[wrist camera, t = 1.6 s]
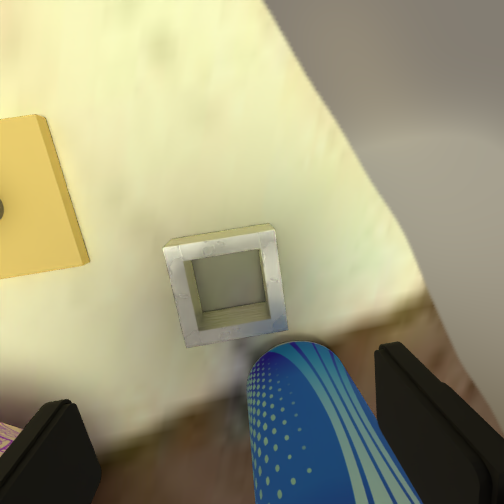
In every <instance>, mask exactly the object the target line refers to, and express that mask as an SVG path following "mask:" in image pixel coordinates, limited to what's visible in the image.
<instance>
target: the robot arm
mask: <svg viewBox="0 0 504 504" xmlns="http://www.w3.org/2000/svg"><path fill="white" fill-rule="evenodd" d="M374 358H375V383H376V408H377V421H378V425H379V428H380V430H381V432H382V434H383V436H384V437H385V439H386V441H387V442H388V444H389V446H390V448H391V449H392V451H393V453H394V454H395V456H396V458H397V460H398V461H399V463H400V465H401V466H402V468H403V470H404V472H405V473H406V475H407V477H408V478H409V480H410V482H411V484H412V485H413V487H414V489H415V490H416V492H417V494H418V496H419V497H420V499H421V501H422V502H423V504H504V439H503V438H502V437H501V436H500V435H499V434H498V433H497V432H496V431H495V430H494V429H493V428H492V427H491V426H490V425H489V424H488V423H487V422H486V421H485V420H484V419H483V418H482V417H481V416H480V415H479V414H478V413H476V412H475V411H474V410H473V409H472V408H471V407H470V406H469V405H468V404H467V403H466V402H465V401H464V400H463V399H462V398H461V397H460V396H459V395H458V394H457V393H456V392H455V391H454V390H453V389H452V388H451V387H449V386H448V385H447V384H445V383H443V382H441V381H440V380H439V379H438V378H437V377H435V376H434V375H433V374H432V373H431V372H430V371H429V370H428V369H427V368H426V367H425V366H424V365H423V364H422V363H421V362H420V361H419V360H418V359H417V358H416V357H415V356H414V355H413V354H412V353H411V352H410V351H409V350H408V349H407V348H406V347H405V346H404V345H403V344H402V343H400V342H392V343H386V344H381V345H380V346H379V350H376V351H375V352H374ZM100 480H101V467H100V465H99V462H98V459H97V457H96V454H95V452H94V449H93V446H92V444H91V441H90V439H89V436H88V433H87V431H86V428H85V426H84V423H83V420H82V418H81V415H80V413H79V410H78V408H77V406H76V404H74V403H72V402H71V401H70V400H69V399H64V400H59V401H53V402H48V403H46V404H44V405H43V406H42V407H41V408H40V410H39V411H38V412H37V413H36V414H35V416H34V417H33V418H32V419H31V420H30V422H29V423H28V424H27V425H26V426H25V428H24V429H23V430H22V431H21V432H20V434H19V435H18V436H17V437H16V439H15V440H14V441H13V442H12V443H11V445H10V446H9V447H8V448H7V449H6V451H5V452H4V453H3V454H2V455H1V457H0V504H91V502H92V499H93V497H94V495H95V492H96V490H97V488H98V486H99V483H100Z"/></svg>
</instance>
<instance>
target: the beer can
mask: <svg viewBox="0 0 504 504" xmlns="http://www.w3.org/2000/svg"><path fill="white" fill-rule="evenodd" d="M246 390H247V403H248V415H249V428H250V440H251V453H252V465H253V478H254V490H255V503H256V504H423V502H422V501H421V499H420V497H419V496H418V494H417V492H416V490H415V489H414V487H413V485H412V484H411V482H410V480H409V478H408V477H407V475H406V473H405V472H404V470H403V468H402V466H401V465H400V463H399V461H398V460H397V458H396V456H395V454H394V453H393V451H392V449H391V448H390V446H389V444H388V442H387V441H386V439H385V437H384V436H383V434H382V432H381V430H380V428H379V425H378V421H377V419H376V418H375V416H374V414H373V413H372V411H371V410H370V408H369V406H368V405H367V403H366V402H365V400H364V398H363V397H362V395H361V393H360V392H359V390H358V389H357V387H356V385H355V384H354V382H353V380H352V379H351V377H350V376H349V374H348V372H347V371H346V369H345V368H344V366H343V364H342V363H341V361H340V359H339V358H338V357H337V356H336V355H335V354H334V353H333V352H332V351H331V350H329V349H328V348H326V347H324V346H322V345H320V344H317V343H314V342H309V341H289V342H285V343H281V344H279V345H277V346H275V347H273V348H271V349H270V350H269V351H267V352H266V353H265V354H264V355H262V356H261V357H260V358H259V359H258V360H257V362H256V363H255V364H254V366H253V367H252V369H251V371H250V374H249V376H248V380H247V389H246Z"/></svg>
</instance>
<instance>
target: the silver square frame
mask: <svg viewBox="0 0 504 504" xmlns="http://www.w3.org/2000/svg"><path fill="white" fill-rule="evenodd" d="M255 249H258V251H259V258H260V264H261V271H262V278H263V284H264V291H265V298H266V302H260V303H254V304H249V305H243V306H237V307H231V308H226V309H220V310H214V311H208V312H202V307H201V303H200V298H199V293H198V289H197V284H196V279H195V275H194V270H193V265H192V261H191V260H195V259H201V258H207V257H213V256H219V255H225V254H231V253H237V252H243V251H249V250H255ZM163 252H164V256H165V261H166V265H167V269H168V273H169V277H170V282H171V286H172V290H173V294H174V298H175V303H176V307H177V311H178V315H179V319H180V324H181V328H182V332H183V336H184V340H185V345H186V348H189V347H194V346H200V345H206V344H211V343H217V342H223V341H228V340H234V339H240V338H245V337H251V336H257V335H262V334H268V333H273V332H279V331H285V330H288V324H287V316H286V308H285V301H284V293H283V286H282V278H281V271H280V263H279V256H278V248H277V241H276V233H275V229H274V228H273V227H272V226H271V225H270V224H269V223H267V224H261V225H255V226H249V227H242V228H236V229H230V230H224V231H218V232H212V233H205V234H199V235H193V236H187V237H181V238H175V239H171V240H170V241H169V242H168V243H167V244H166V245H165V246H164V247H163Z"/></svg>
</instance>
